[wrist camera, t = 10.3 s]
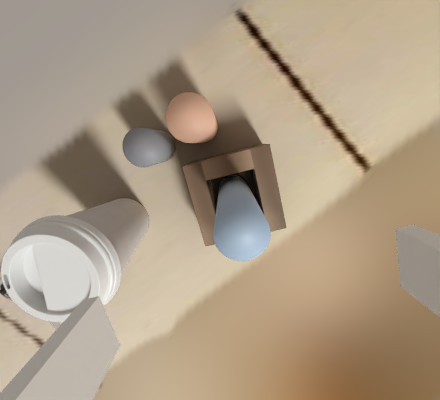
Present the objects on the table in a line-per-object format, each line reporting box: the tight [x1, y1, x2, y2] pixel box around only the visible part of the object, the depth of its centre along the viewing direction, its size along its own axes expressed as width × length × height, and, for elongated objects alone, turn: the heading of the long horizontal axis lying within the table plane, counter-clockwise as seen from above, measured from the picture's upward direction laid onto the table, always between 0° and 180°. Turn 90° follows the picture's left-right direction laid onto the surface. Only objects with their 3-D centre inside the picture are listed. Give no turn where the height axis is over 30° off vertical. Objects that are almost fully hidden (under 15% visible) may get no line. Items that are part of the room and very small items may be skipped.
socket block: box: [182, 144, 286, 246], centre depth 29 cm, size 10×10×5 cm
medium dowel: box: [165, 92, 218, 143], centre depth 25 cm, size 4×4×11 cm
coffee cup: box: [1, 198, 149, 322], centre depth 26 cm, size 10×10×15 cm
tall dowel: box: [213, 176, 271, 261], centre depth 24 cm, size 4×4×16 cm
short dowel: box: [123, 127, 176, 167], centre depth 27 cm, size 4×4×7 cm
